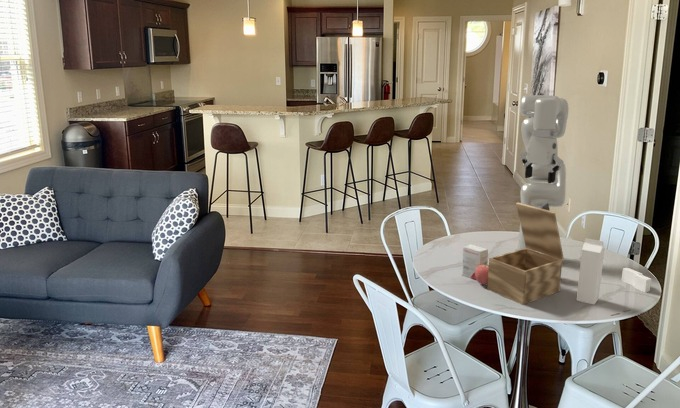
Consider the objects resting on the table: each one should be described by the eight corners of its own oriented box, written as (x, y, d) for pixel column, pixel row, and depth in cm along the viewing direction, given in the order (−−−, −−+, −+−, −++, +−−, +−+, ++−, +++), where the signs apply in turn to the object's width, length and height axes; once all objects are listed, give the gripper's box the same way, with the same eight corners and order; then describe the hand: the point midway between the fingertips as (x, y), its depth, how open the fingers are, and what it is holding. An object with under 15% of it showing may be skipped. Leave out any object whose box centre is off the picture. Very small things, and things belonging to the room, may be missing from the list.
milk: (580, 295, 203) (587, 236, 198) (598, 299, 200) (605, 239, 194) (576, 300, 199) (582, 240, 193) (594, 305, 195) (601, 243, 190)
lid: (525, 247, 216) (537, 238, 219) (562, 259, 203) (574, 249, 206) (516, 203, 207) (528, 194, 210) (553, 213, 194) (565, 203, 197)
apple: (475, 287, 210) (476, 266, 208) (473, 279, 217) (474, 259, 215) (495, 288, 209) (497, 267, 207) (493, 280, 216) (495, 260, 214)
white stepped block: (614, 278, 219) (616, 264, 218) (647, 281, 216) (649, 267, 214) (621, 293, 205) (623, 279, 204) (656, 297, 202) (658, 282, 200)
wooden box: (523, 277, 219) (525, 248, 216) (559, 291, 206) (562, 260, 203) (487, 289, 209) (489, 258, 206) (522, 304, 196) (525, 271, 193)
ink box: (487, 278, 219) (489, 249, 216) (479, 281, 216) (481, 252, 213) (469, 271, 225) (470, 243, 222) (461, 275, 222) (462, 246, 219)
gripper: (571, 135, 198) (566, 183, 203) (529, 129, 212) (526, 174, 217) (558, 137, 194) (553, 186, 199) (516, 131, 208) (513, 177, 212)
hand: (539, 180), depth 208 cm, fingers open, 9 cm apart
